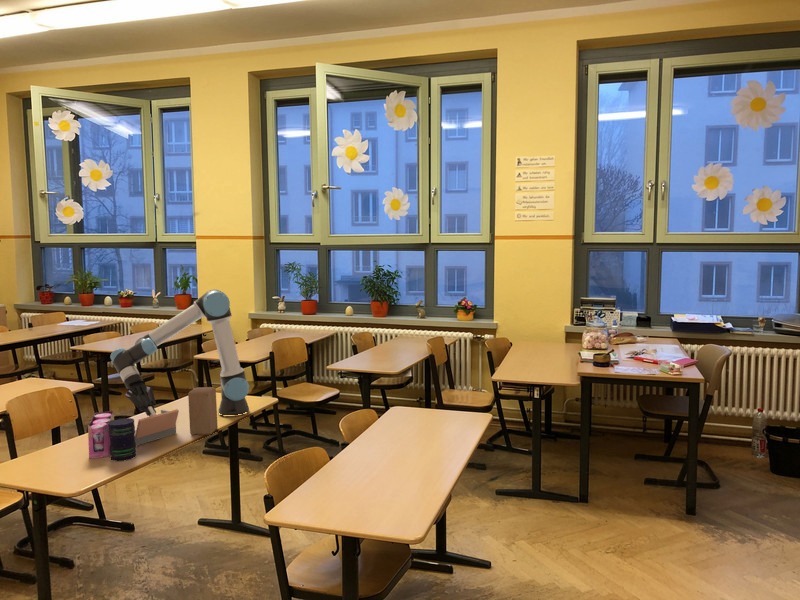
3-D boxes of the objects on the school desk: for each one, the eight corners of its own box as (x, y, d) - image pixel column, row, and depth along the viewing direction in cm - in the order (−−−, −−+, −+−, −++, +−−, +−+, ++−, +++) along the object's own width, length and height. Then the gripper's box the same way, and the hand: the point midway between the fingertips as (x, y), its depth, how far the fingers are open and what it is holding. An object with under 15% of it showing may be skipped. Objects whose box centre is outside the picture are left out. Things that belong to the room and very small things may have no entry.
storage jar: (113, 463, 245) (111, 426, 244) (107, 457, 253) (104, 421, 252) (139, 457, 252) (137, 421, 250) (132, 451, 259) (130, 416, 258)
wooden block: (211, 435, 280) (209, 391, 278) (189, 435, 280) (187, 392, 278) (218, 428, 290) (216, 386, 288) (197, 428, 290) (195, 387, 288)
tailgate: (173, 425, 281) (177, 409, 279) (174, 427, 281) (178, 410, 278) (134, 437, 266) (138, 419, 263) (136, 438, 265) (140, 421, 262)
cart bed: (164, 430, 288) (163, 409, 287) (176, 433, 283) (175, 412, 282) (119, 443, 270) (118, 421, 269) (131, 447, 265) (130, 424, 264)
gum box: (109, 457, 252) (107, 425, 251) (88, 460, 250) (86, 427, 248) (116, 440, 275) (114, 410, 274) (96, 442, 272) (94, 412, 271)
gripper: (141, 380, 287) (165, 421, 279) (115, 386, 276) (138, 428, 268) (148, 370, 284) (171, 411, 276) (121, 375, 273) (145, 418, 265)
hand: (155, 420), depth 272 cm, fingers closed
